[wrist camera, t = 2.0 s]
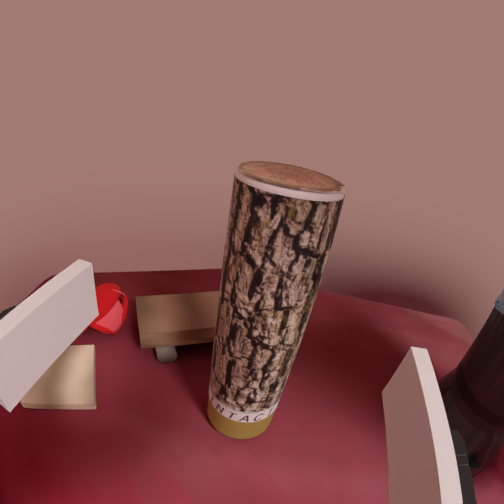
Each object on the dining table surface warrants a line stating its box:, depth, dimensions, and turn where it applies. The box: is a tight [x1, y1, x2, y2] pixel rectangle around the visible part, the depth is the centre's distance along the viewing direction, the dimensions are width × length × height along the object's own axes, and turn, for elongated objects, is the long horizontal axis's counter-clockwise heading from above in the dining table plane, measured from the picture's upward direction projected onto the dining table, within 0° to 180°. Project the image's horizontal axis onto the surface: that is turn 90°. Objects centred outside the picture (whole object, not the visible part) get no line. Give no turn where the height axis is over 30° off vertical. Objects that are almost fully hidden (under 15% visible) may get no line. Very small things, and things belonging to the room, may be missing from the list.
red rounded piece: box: [82, 283, 128, 335], centre depth 36 cm, size 8×6×6 cm
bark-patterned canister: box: [207, 161, 346, 439], centre depth 24 cm, size 7×7×25 cm
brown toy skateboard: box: [136, 291, 219, 363], centre depth 39 cm, size 20×8×5 cm, turn 111°
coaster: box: [21, 345, 97, 409], centre depth 28 cm, size 9×9×1 cm
